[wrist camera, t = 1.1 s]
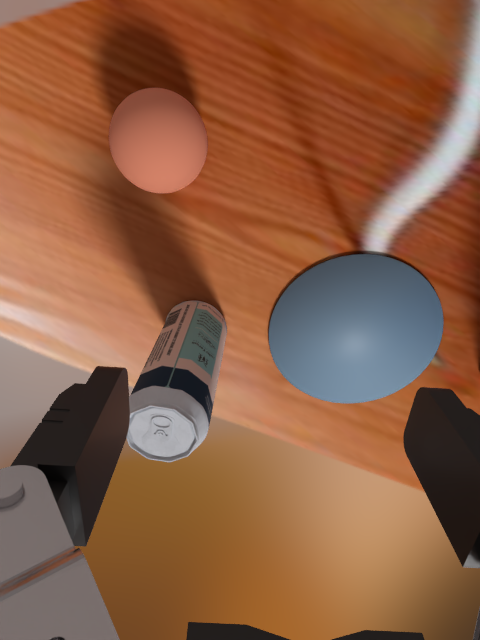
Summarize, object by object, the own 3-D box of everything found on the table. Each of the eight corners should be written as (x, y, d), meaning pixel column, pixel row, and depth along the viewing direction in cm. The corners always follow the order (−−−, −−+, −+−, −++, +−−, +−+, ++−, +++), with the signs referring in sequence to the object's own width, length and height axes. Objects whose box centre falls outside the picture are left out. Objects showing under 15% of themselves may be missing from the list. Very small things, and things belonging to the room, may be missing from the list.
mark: (481, 311, 30) (482, 312, 30) (367, 424, 35) (367, 426, 35) (335, 218, 27) (335, 219, 27) (238, 356, 33) (237, 357, 33)
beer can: (164, 345, 33) (114, 460, 22) (168, 292, 31) (115, 392, 20) (223, 355, 33) (201, 473, 22) (231, 303, 31) (211, 407, 20)
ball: (229, 122, 25) (219, 126, 20) (188, 200, 27) (171, 221, 23) (148, 69, 24) (117, 60, 19) (113, 155, 26) (78, 167, 21)
